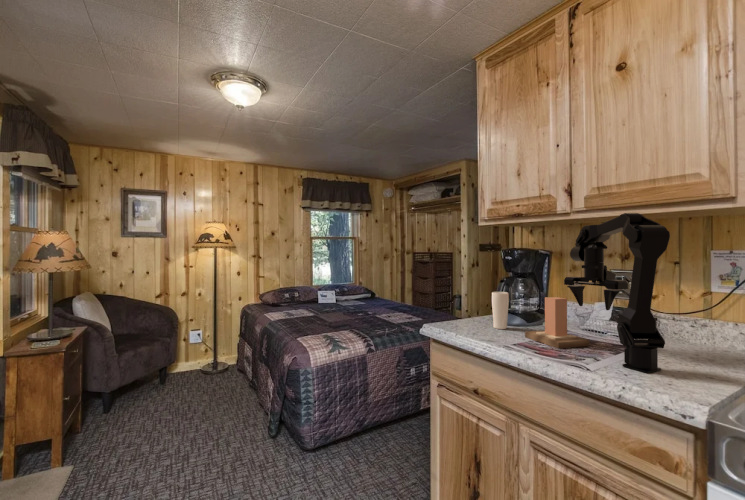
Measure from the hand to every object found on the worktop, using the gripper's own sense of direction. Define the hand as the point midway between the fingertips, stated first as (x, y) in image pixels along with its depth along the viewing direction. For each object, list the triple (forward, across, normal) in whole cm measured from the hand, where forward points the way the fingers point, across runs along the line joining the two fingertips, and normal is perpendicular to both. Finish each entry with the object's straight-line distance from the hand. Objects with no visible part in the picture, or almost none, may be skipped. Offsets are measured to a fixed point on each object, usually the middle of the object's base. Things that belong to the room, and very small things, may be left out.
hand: (593, 308), depth 118 cm
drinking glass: (+13, +34, +9) cm, 38 cm away
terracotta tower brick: (+10, +10, +6) cm, 16 cm away
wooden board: (+13, +10, +6) cm, 17 cm away
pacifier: (+13, +24, -11) cm, 30 cm away
